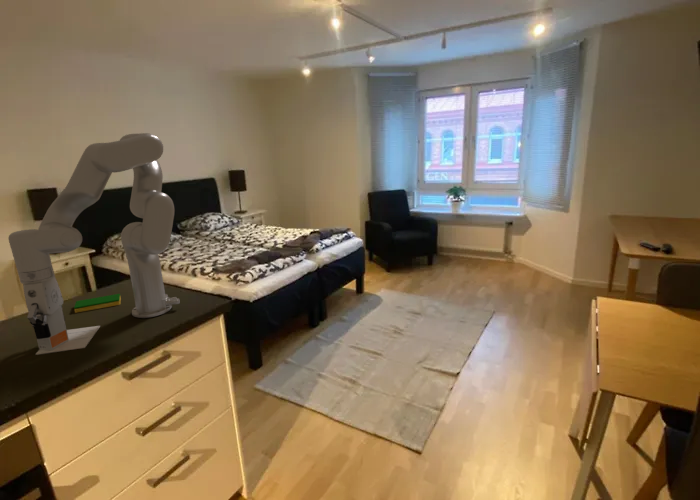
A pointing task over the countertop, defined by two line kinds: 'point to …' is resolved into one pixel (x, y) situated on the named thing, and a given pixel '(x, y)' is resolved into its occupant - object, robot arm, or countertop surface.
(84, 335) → the paper
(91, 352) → the countertop surface
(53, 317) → the skincare box
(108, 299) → the dish sponge
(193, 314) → the countertop surface
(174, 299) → the robot arm
